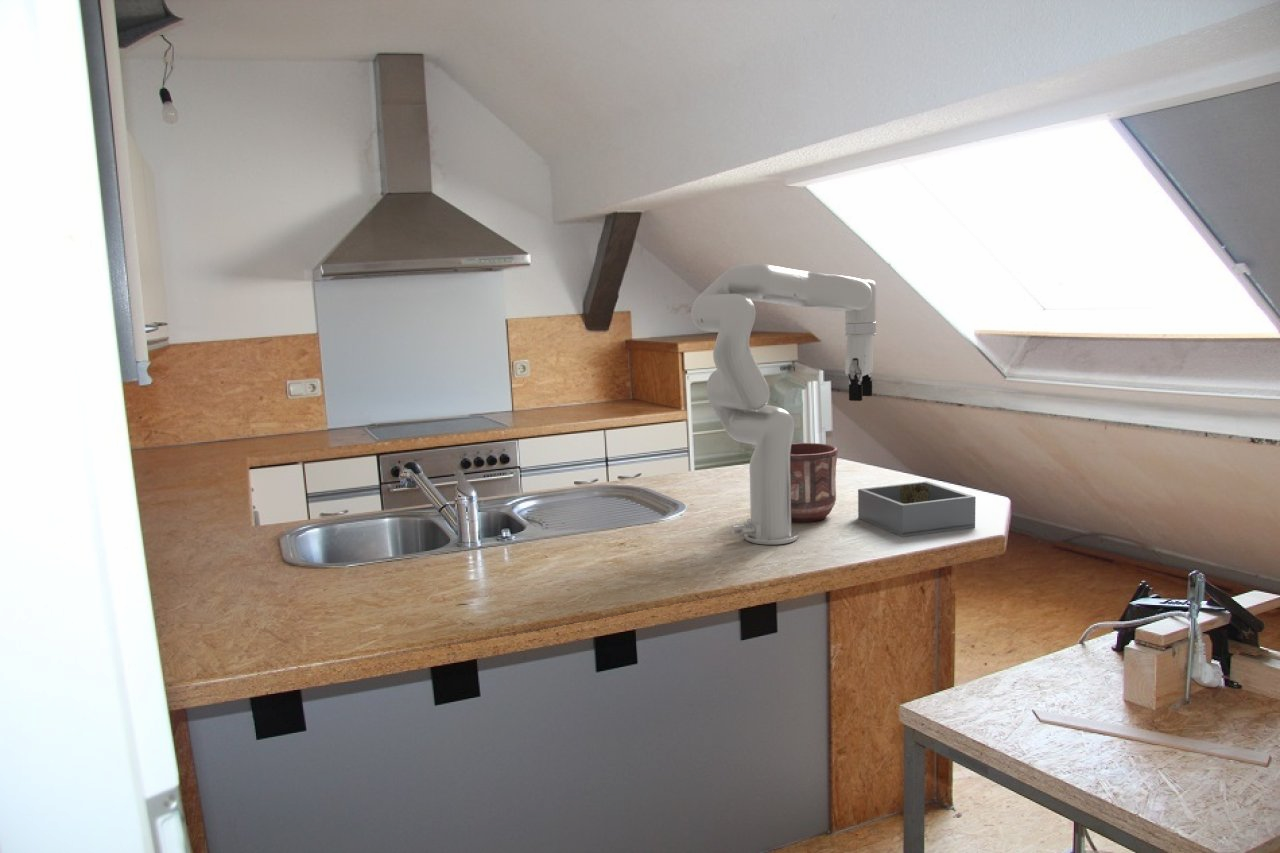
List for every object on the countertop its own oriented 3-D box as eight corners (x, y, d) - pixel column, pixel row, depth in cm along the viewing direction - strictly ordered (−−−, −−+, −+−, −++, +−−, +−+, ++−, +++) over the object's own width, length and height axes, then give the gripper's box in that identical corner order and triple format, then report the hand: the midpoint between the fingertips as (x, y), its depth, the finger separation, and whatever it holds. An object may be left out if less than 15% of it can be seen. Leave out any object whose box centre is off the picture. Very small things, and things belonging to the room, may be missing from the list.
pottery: (818, 529, 235) (817, 456, 232) (755, 520, 245) (754, 451, 243) (849, 513, 249) (848, 445, 246) (788, 506, 259) (787, 440, 257)
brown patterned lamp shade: (893, 516, 240) (893, 485, 239) (918, 513, 242) (918, 482, 241) (910, 523, 233) (910, 491, 232) (936, 520, 235) (936, 488, 234)
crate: (902, 536, 225) (902, 505, 224) (858, 518, 244) (858, 489, 243) (975, 527, 231) (975, 496, 230) (926, 509, 250) (926, 481, 249)
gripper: (854, 328, 249) (855, 393, 251) (835, 332, 234) (836, 402, 236) (883, 327, 245) (883, 394, 248) (866, 332, 230) (866, 403, 233)
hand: (860, 398), depth 242 cm, fingers open, 9 cm apart
